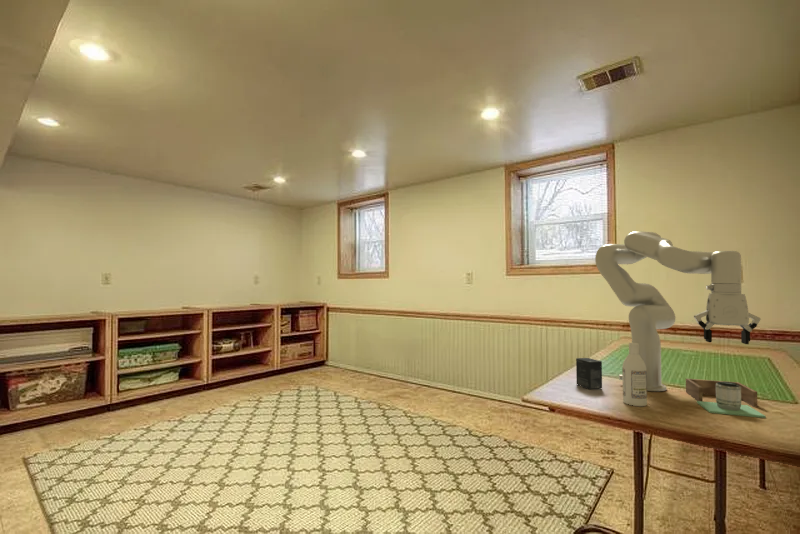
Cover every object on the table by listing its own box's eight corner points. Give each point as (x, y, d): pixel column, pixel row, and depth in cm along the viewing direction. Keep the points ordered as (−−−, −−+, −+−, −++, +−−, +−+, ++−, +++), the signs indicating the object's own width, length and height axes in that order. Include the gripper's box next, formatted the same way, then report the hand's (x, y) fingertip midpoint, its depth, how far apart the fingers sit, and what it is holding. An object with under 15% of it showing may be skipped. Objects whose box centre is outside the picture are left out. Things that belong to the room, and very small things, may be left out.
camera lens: (715, 403, 132) (715, 379, 132) (740, 407, 128) (739, 382, 129) (716, 408, 127) (716, 383, 127) (742, 412, 123) (741, 386, 124)
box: (602, 389, 151) (602, 361, 152) (589, 390, 150) (589, 361, 150) (588, 384, 159) (588, 357, 159) (576, 384, 158) (575, 357, 158)
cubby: (699, 402, 136) (698, 387, 136) (685, 392, 148) (685, 378, 148) (757, 407, 130) (757, 391, 131) (738, 396, 143) (738, 382, 143)
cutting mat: (709, 412, 125) (709, 410, 125) (696, 402, 135) (696, 400, 135) (765, 417, 120) (765, 415, 120) (747, 407, 130) (747, 405, 130)
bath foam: (651, 405, 132) (650, 344, 133) (638, 408, 129) (637, 345, 130) (631, 399, 138) (630, 341, 139) (618, 402, 135) (617, 342, 136)
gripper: (698, 289, 128) (698, 342, 128) (765, 290, 123) (766, 346, 122) (690, 288, 135) (690, 339, 135) (753, 289, 130) (753, 342, 129)
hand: (726, 342), depth 129 cm, fingers open, 9 cm apart
